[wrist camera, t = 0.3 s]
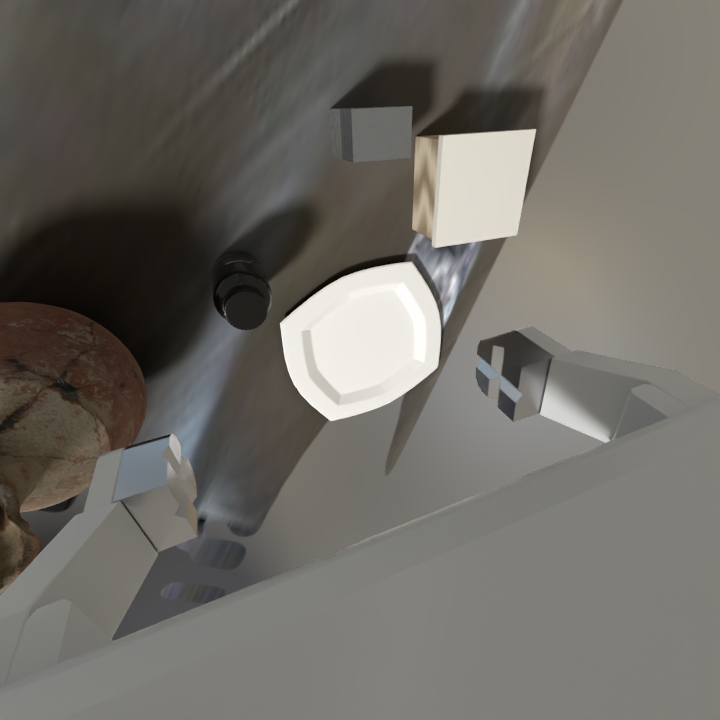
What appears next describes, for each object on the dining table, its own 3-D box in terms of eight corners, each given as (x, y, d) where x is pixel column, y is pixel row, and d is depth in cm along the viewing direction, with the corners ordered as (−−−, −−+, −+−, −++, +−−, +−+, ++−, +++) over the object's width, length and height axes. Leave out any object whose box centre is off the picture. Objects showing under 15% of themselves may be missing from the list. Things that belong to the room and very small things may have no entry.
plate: (254, 311, 57) (256, 317, 56) (417, 236, 60) (423, 239, 59) (320, 429, 73) (323, 436, 72) (446, 366, 76) (452, 371, 75)
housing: (329, 108, 47) (351, 108, 41) (383, 106, 49) (412, 106, 43) (332, 155, 50) (353, 162, 44) (383, 151, 52) (410, 157, 46)
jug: (187, 358, 57) (184, 536, 33) (72, 446, 58) (-11, 681, 34) (39, 236, 44) (-142, 387, 20) (-107, 352, 45) (-445, 629, 21)
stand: (412, 132, 52) (443, 135, 45) (496, 126, 55) (536, 129, 49) (409, 232, 59) (435, 247, 53) (483, 222, 62) (517, 235, 56)
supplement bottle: (239, 239, 51) (250, 269, 42) (273, 278, 55) (290, 313, 46) (198, 272, 52) (200, 309, 42) (235, 308, 56) (244, 349, 46)
